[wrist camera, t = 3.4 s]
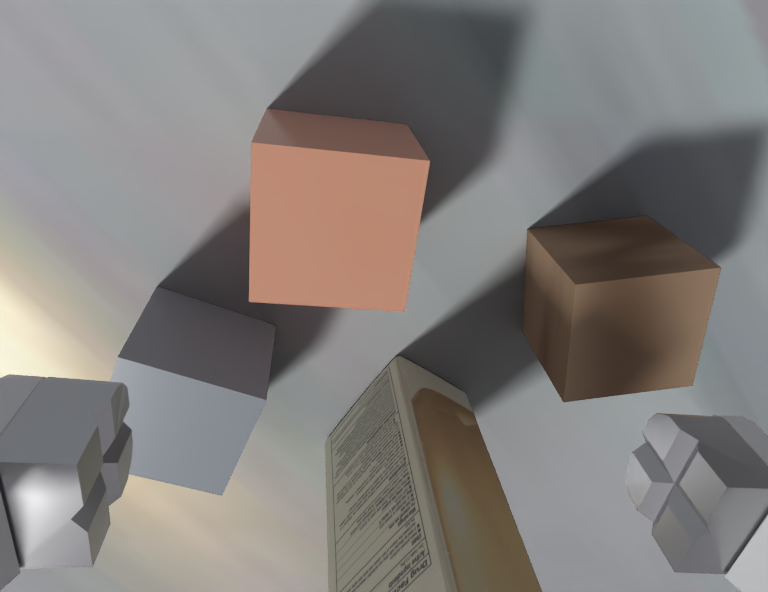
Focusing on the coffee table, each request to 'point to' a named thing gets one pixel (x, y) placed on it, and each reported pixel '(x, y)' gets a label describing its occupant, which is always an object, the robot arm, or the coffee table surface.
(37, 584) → the coffee table surface
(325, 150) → the terracotta cube
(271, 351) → the slate cube
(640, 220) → the walnut cube
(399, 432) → the skincare box
